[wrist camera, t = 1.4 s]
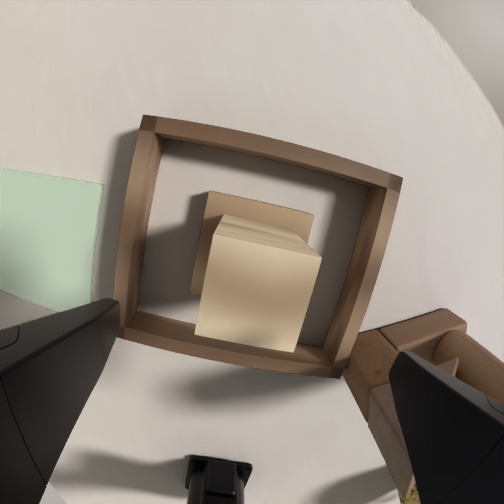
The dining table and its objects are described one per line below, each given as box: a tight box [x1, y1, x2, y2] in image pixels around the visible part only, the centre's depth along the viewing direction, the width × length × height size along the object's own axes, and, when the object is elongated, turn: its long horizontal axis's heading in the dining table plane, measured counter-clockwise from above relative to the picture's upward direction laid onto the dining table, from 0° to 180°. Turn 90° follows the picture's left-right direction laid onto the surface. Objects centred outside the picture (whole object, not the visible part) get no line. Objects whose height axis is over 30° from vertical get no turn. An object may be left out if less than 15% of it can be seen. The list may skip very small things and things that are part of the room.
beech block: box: [195, 214, 322, 353], centre depth 17 cm, size 4×4×8 cm
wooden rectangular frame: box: [113, 115, 403, 379], centre depth 21 cm, size 15×17×3 cm
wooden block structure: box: [342, 308, 504, 499], centre depth 16 cm, size 4×11×18 cm, turn 101°
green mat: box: [0, 169, 104, 312], centre depth 21 cm, size 11×11×1 cm
